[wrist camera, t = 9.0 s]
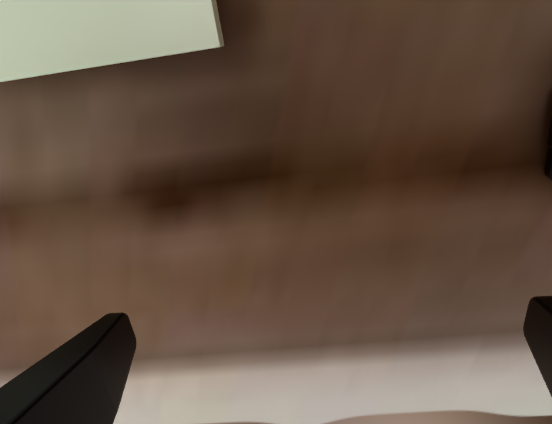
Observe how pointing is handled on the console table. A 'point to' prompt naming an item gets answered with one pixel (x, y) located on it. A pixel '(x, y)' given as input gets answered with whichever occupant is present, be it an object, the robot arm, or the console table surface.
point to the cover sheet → (100, 33)
